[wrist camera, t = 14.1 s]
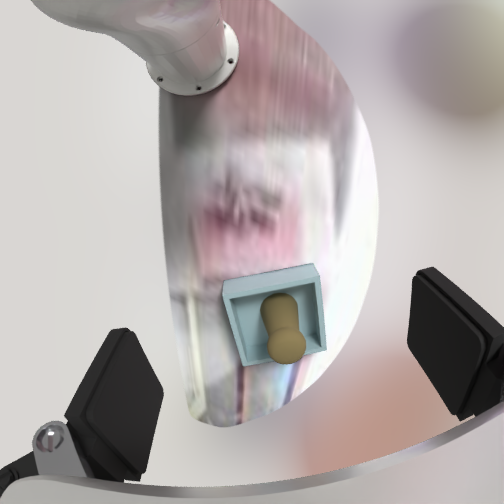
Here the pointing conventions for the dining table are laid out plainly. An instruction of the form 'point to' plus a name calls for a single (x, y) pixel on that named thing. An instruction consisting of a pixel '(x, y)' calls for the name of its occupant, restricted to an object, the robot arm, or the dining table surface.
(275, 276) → the bin
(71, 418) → the robot arm
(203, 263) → the dining table surface
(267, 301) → the cork
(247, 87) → the dining table surface
